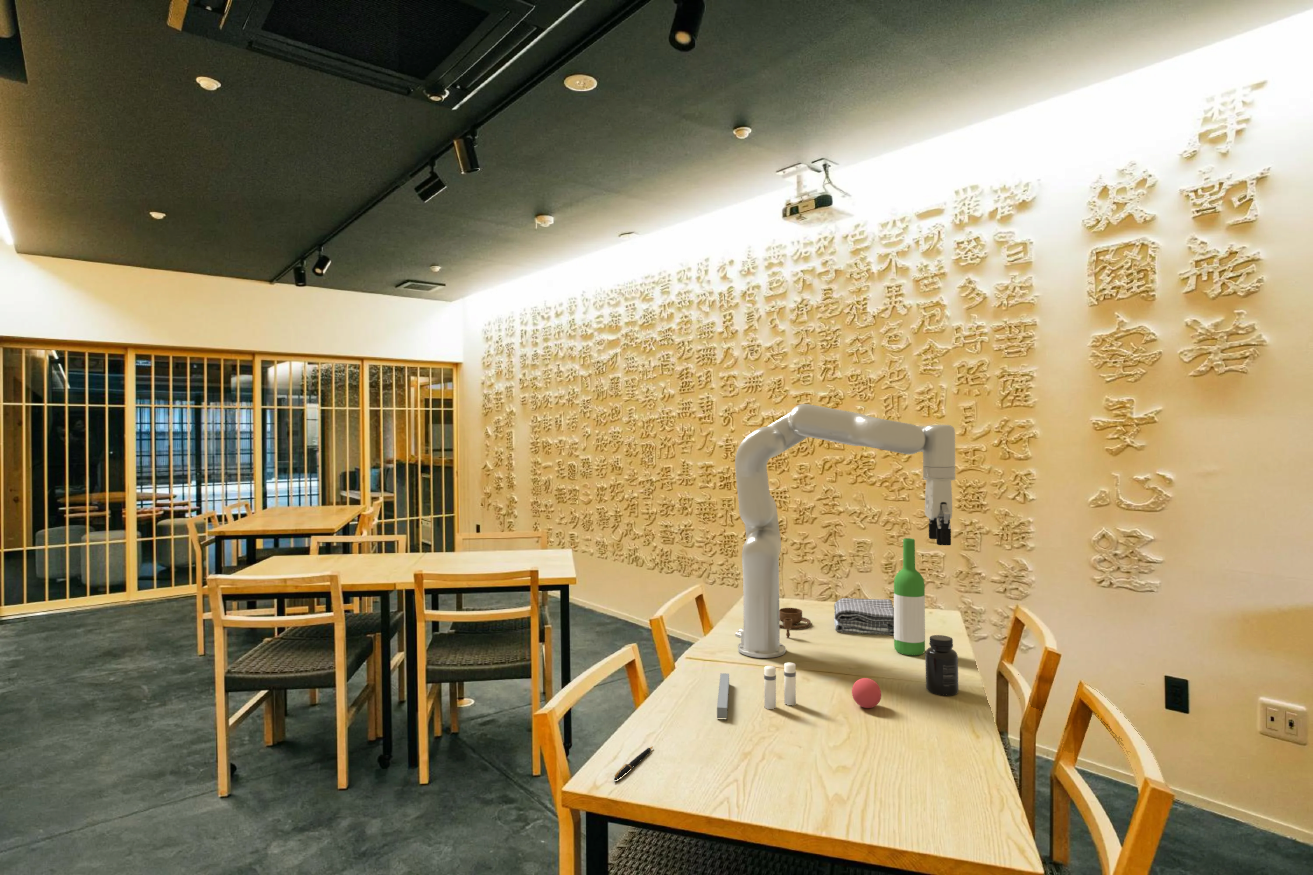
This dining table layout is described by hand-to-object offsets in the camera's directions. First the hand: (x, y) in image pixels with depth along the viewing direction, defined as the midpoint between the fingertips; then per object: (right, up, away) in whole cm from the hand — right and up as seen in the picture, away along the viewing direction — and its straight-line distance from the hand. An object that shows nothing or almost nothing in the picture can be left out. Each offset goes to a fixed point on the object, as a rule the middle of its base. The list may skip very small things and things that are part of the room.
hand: (939, 541), depth 172 cm
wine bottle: (-4, -31, +9) cm, 33 cm away
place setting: (-33, -32, +34) cm, 57 cm away
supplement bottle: (-7, -31, -18) cm, 36 cm away
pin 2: (-42, -31, -25) cm, 58 cm away
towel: (-9, -31, +32) cm, 46 cm away
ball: (-27, -28, -27) cm, 47 cm away
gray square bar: (-57, -31, -23) cm, 69 cm away
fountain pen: (-75, -32, -51) cm, 96 cm away
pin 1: (-47, -31, -27) cm, 62 cm away
